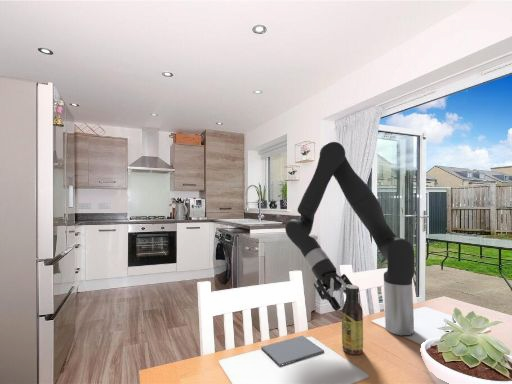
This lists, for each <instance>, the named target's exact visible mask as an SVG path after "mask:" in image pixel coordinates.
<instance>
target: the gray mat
mask: <svg viewBox="0 0 512 384" xmlns="http://www.w3.org/2000/svg"><path fill="white" fill-rule="evenodd" d="M261 350H264V351H265V352H266V353H265V354H267V355H268V354H269V355H270V356H271V357H272V358H273V359H274V360H275V361H276V362H277V363H278V364H279V365H282V364H286V363H289V362H292V363H294V362H293V361H295V362H297V361H296V360H298V361H300V360H299V359H301V360H303V359H302V358H305V357H308V358H310V357H309V356H311V357H314V356H317V355H320V354H322V353H325V349H322V348H321V347H320V346H319V345H318V344H316V343H314V342H313V341H311V340H310V339H308V338H307V337H306V336H304V335H300V336H296V337H292V338H289V339H285V340H281V341H277V342H273V343H270V344H266V345H262V346H261ZM264 351H263V352H264ZM319 353H320V354H319ZM316 354H317V355H316ZM269 355H268V356H269ZM313 355H314V356H313ZM270 356H269V357H270ZM271 357H270V358H271ZM272 358H271V359H272ZM273 359H272V360H273ZM305 359H306V358H305ZM274 360H273V361H274ZM275 361H274V362H275ZM276 362H275V363H276ZM277 363H276V364H277ZM278 364H277V365H278ZM289 364H290V363H289ZM279 365H278V366H279ZM286 365H287V364H286Z"/></svg>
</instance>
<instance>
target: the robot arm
mask: <svg viewBox="0 0 512 384" xmlns="http://www.w3.org/2000/svg"><path fill="white" fill-rule="evenodd" d="M332 177H334V179H335V180H336V182H337V184H338V185H339V187H340V190H341V192H342V194H343V195H344V197H345V199H346V200H347V202H348V204H349V205H350V207H351V208H352V210H353V212H354V213H355V215H356V216H357V217H358V219H359V220H360V221H361V223H362V224H363V225H364V226H365V228H366V229H367V231H368V232H369V234H370V235H371V237H372V239H373V241H374V243H375V245H376V247H377V249H378V251H379V253H380V254H381V255H382V257H383V258H384V259H385V260H387V269H386V271H385V272H383V294H384V295H383V296H384V299H383V300H384V320H385V321H384V324H385V325H384V326H385V329H386V331H387V332H389V333H391V334H393V335H397V336H402V335H410V336H412V335H411V334H413V333H414V334H415V321H414V319H415V317H414V291H413V279H414V276H415V250H414V246H413V245H412V243H411V242H410V241H409V240H407V239H405V238H402V237H398V236H397V235H396V234H395V233H394V231H393V230H392V229H391V227H390V226H389V225H388V223H387V222H386V219H385V216H384V215H385V214H384V212H383V208H382V205H381V203H380V202H379V200H378V199H377V197H376V196H375V194H374V192H373V190H371V188H370V186H368V185H367V184H366V182H365V181H364V180H363V179H362V178H361V177H360V176H359V175H358V174H357V173H356V172H355V171H354V169H353V167H352V166H351V163H350V162H349V160H348V159H347V157H346V149H345V148H344V146H343V145H342V144H341V143H339V142H338V141H330V142H327V143H325V144H323V146H322V147H321V149H320V151H319V157H318V162H317V165H316V168H315V170H314V174H313V176H312V178H311V180H310V182H309V184H308V186H307V188H306V189H305V191H304V194H303V195H302V197H301V200H300V202H299V204H298V207H297V213H298V214H300V217H299V218H300V219H294V218H293V219H290V220H287V222H286V223H285V227H284V230H285V234H286V235H287V237H288V238H289V239H290V241H291V243H293V244H294V245H295V246H296V247H297V248H298V249H299V250H300V252H301V254H302V255H303V257H304V259H305V261H306V263H307V265H308V267H309V269H310V270H311V272H312V273H313V275H314V276H315V278H316V280H315V282H314V283H313V286H314V287H315V290H316V292H317V293H318V295H319V297H320V299H321V300H322V301H324V300H326V301H328V302H329V305H330V306H331V308H332V309H333V310H334V311H335V312H338V311H339V310H340V309H341V305H340V303H339V302H338V300H337V299H336V297H335V296H334V292H335V291H336V292H337V291H338V292H341V293H343V294H345V295H346V290H345V287H346V285H354V284H353V283H352V282H351V280H350V278H349V277H348V276H347V275H346V274H345V273H343V274H341V275H339V274H338V273H337V268H336V266H335V264H334V263H333V262H332V260H331V259H330V257H329V255H327V253H326V251H324V250H323V248H322V247H321V245H320V244H319V242H318V241H317V240H316V238H315V237H312V236H310V235H311V233H312V230H313V226H314V221H315V215H316V212H317V211H318V209H319V207H320V205H321V202H322V199H323V197H324V195H325V192H326V190H327V188H328V185H329V183H330V182H331V180H332ZM414 334H413V335H414Z"/></svg>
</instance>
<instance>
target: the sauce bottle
mask: <svg viewBox="0 0 512 384" xmlns="http://www.w3.org/2000/svg"><path fill="white" fill-rule="evenodd" d="M345 290H346V294H345V301H344V303H343V307H342V309H341V345H342V350H343V351H344V352H346V353H347V354H349V355H353V356H355V355H356V356H357V355H361V354H362V353H363V348H364V318H363V317H364V316H363V314H364V313H363V308H362V306H361V303H360V302H359V301H360V300H359V293H360V287H359V286H357V285H355V284H353V285H349V284H348V285H346V287H345Z"/></svg>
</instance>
